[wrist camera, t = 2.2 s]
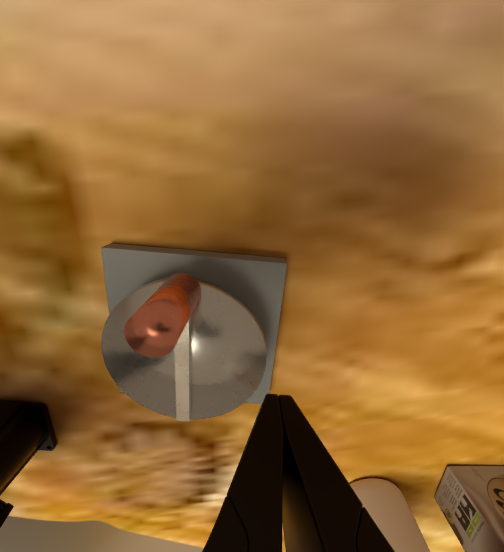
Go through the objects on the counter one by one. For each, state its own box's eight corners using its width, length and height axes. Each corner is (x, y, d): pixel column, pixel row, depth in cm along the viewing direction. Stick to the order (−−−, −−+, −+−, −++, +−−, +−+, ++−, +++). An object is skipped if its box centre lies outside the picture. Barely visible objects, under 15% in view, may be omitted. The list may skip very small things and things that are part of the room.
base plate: (267, 392, 25) (267, 404, 23) (127, 380, 25) (119, 392, 23) (285, 258, 20) (287, 263, 18) (111, 243, 20) (100, 247, 18)
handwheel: (258, 397, 23) (258, 502, 15) (128, 386, 23) (63, 488, 15) (273, 267, 18) (285, 323, 11) (113, 253, 18) (10, 300, 11)
